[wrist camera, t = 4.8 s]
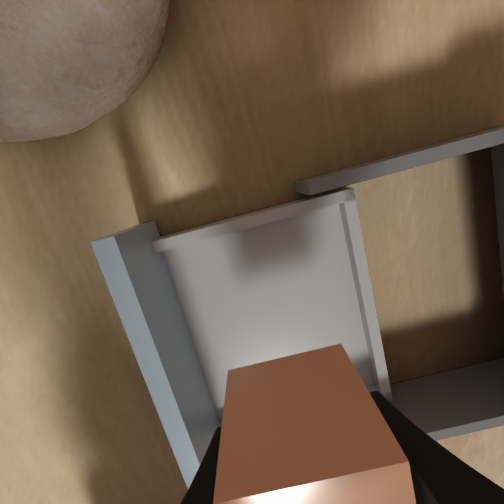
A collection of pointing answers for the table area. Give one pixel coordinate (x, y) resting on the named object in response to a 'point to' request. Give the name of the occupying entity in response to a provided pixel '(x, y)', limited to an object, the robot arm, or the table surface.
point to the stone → (72, 61)
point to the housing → (500, 371)
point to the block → (307, 436)
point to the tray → (240, 305)
